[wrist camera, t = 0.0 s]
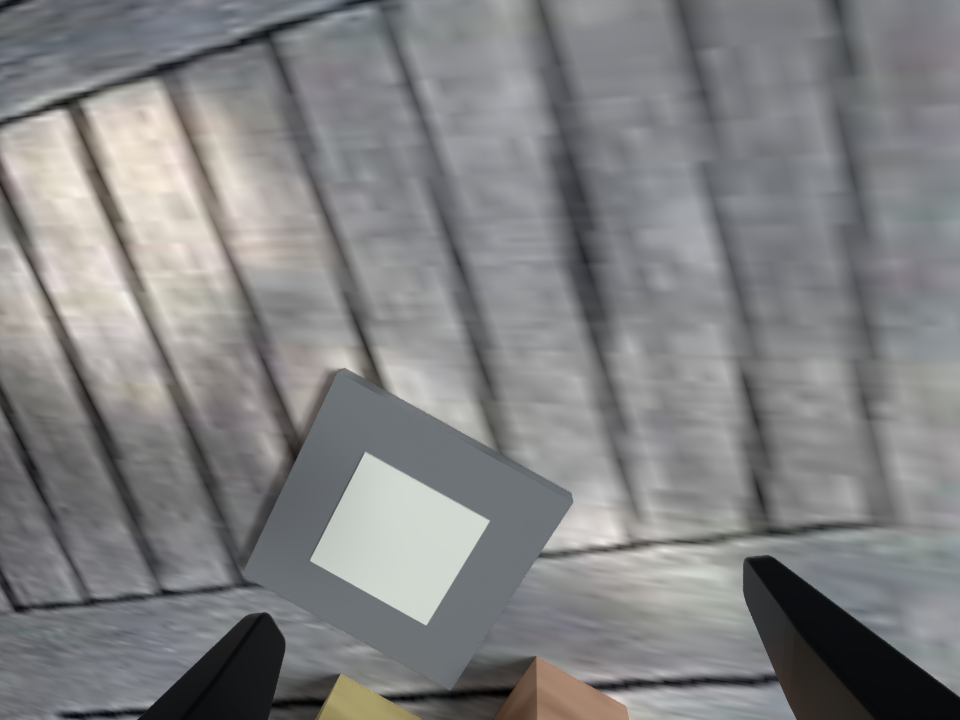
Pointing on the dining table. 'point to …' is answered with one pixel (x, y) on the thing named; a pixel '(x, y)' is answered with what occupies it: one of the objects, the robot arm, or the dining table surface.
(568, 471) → the dining table surface
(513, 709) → the terracotta brick
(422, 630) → the charcoal baseplate
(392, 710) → the ochre brick
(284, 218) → the dining table surface
